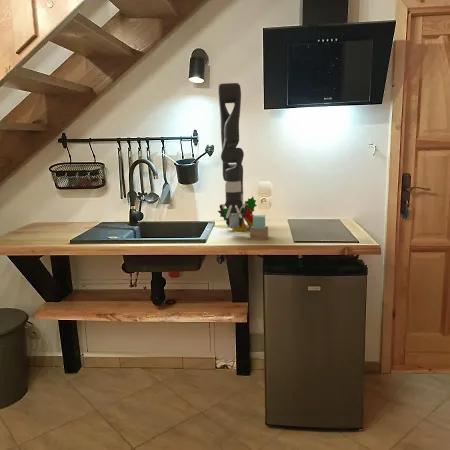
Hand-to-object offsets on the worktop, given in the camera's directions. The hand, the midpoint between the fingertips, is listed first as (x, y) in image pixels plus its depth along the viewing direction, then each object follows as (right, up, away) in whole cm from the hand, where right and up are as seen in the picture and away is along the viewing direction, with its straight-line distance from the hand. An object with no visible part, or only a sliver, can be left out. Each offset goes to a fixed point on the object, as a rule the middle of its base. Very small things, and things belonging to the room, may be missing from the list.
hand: (234, 225), depth 214 cm
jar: (0, -1, 0) cm, 1 cm away
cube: (+12, -1, -6) cm, 13 cm away
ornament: (+3, -2, +16) cm, 16 cm away
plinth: (+12, -6, -5) cm, 14 cm away
